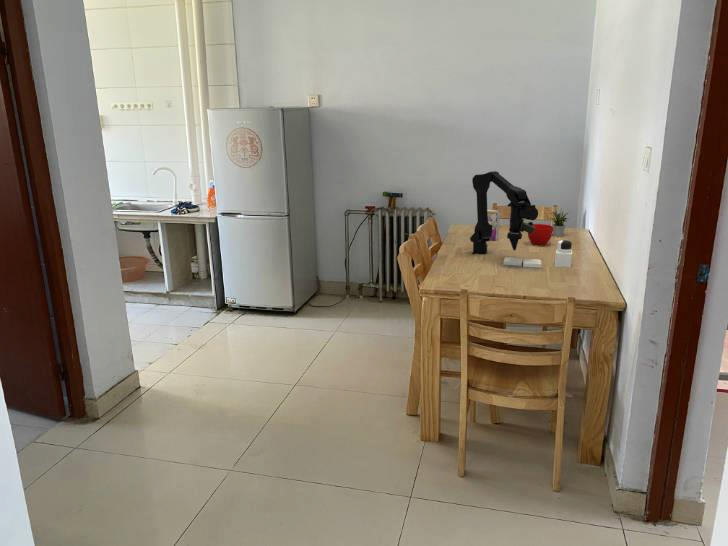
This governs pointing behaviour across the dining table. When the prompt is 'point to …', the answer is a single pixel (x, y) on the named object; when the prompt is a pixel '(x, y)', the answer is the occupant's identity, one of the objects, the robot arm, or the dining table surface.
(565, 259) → the medicine bottle
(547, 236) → the ceramic cup
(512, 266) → the mat
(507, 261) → the tile
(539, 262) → the flat tile
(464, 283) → the dining table surface
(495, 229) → the candy bar box
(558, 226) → the house plant
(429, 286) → the dining table surface
